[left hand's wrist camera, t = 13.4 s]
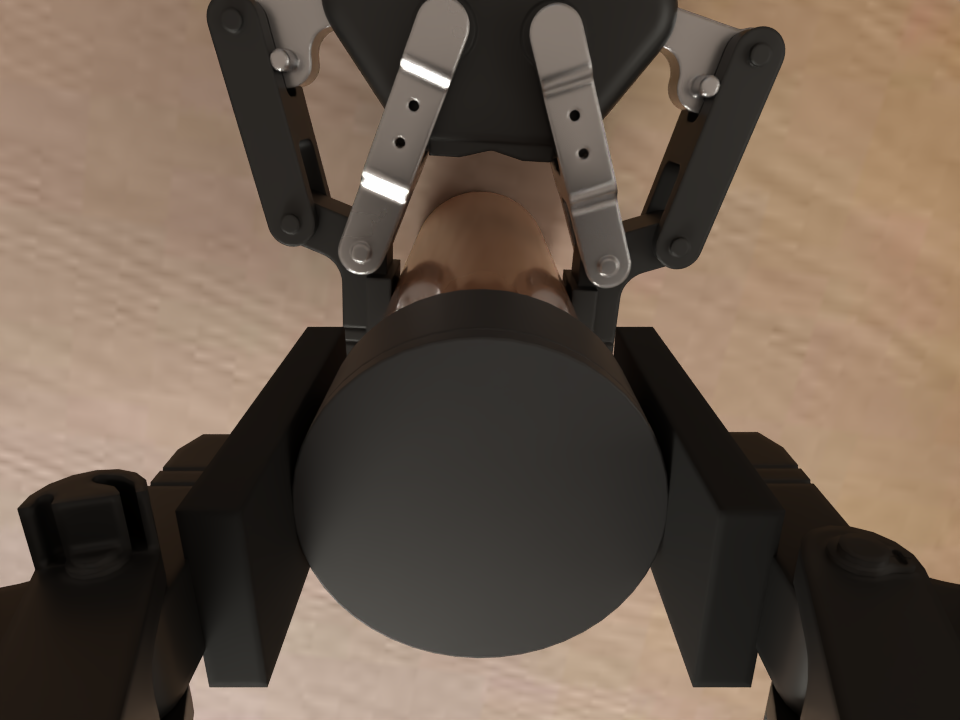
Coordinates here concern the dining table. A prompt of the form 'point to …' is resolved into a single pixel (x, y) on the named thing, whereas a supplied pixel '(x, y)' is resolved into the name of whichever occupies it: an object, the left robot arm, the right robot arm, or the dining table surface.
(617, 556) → the lid
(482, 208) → the jar
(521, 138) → the right robot arm
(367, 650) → the dining table surface
